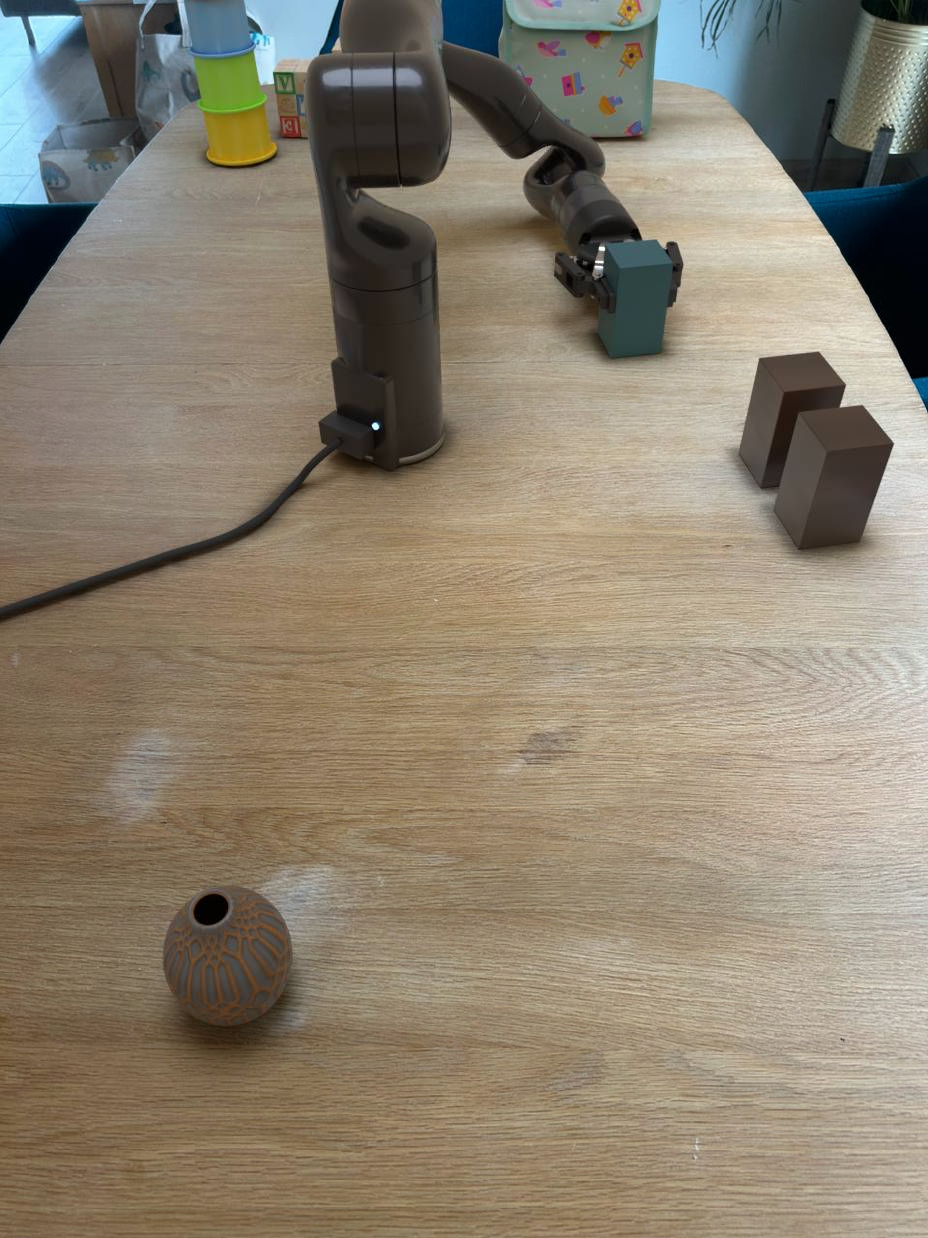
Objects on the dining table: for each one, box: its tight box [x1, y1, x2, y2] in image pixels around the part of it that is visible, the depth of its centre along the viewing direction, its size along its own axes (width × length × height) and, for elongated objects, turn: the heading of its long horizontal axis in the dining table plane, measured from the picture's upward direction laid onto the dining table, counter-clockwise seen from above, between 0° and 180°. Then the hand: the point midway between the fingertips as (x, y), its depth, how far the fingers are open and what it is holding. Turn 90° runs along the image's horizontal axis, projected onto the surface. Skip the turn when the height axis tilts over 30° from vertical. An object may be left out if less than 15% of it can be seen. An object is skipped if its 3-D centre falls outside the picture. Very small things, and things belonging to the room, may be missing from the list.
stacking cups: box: [183, 0, 278, 167], centre depth 135 cm, size 10×10×35 cm
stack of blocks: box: [272, 37, 342, 138], centre depth 149 cm, size 21×6×12 cm, turn 84°
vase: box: [162, 885, 294, 1027], centre depth 55 cm, size 7×7×9 cm
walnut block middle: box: [738, 351, 847, 489], centre depth 88 cm, size 6×6×10 cm
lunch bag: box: [497, 0, 662, 138], centre depth 144 cm, size 23×16×27 cm
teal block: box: [597, 238, 673, 359], centre depth 104 cm, size 6×6×10 cm
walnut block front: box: [773, 404, 895, 550], centre depth 82 cm, size 6×6×10 cm
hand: (641, 301), depth 102 cm, fingers closed on teal block, 5 cm apart
